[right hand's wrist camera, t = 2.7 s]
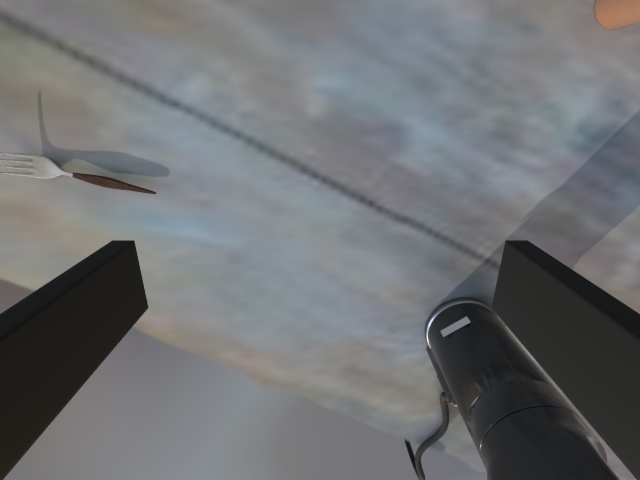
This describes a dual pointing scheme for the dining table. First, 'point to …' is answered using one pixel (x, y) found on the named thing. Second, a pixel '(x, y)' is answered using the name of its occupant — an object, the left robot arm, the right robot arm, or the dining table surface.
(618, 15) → the bottle
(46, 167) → the fork
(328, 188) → the dining table surface
